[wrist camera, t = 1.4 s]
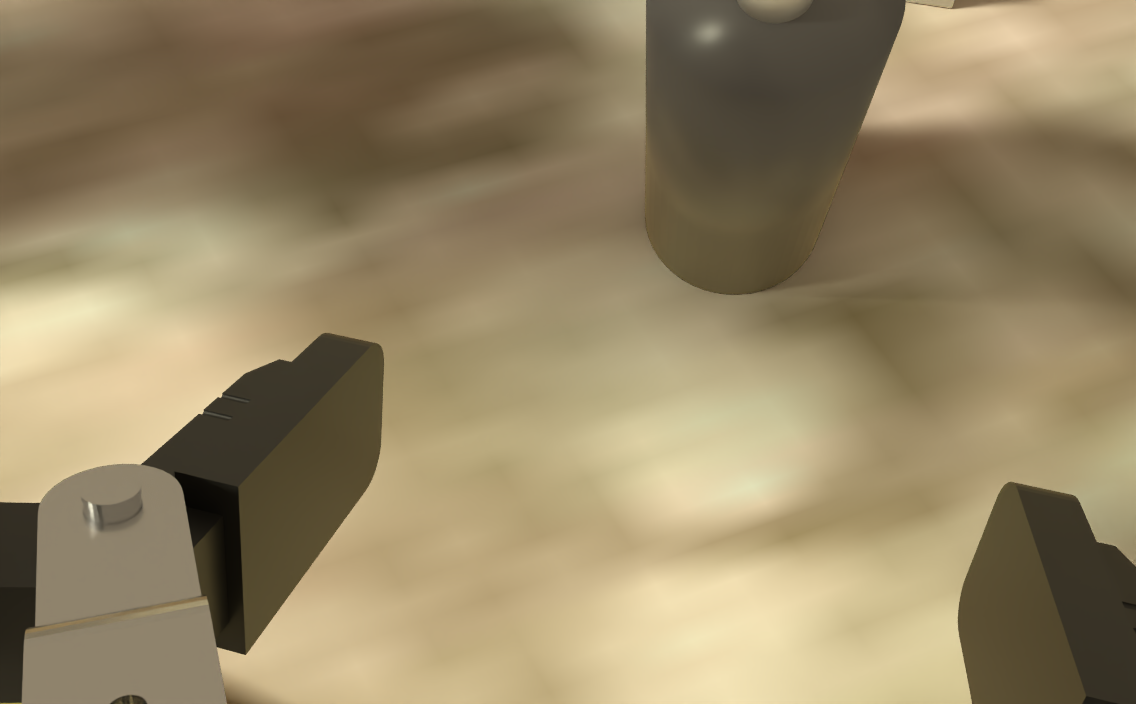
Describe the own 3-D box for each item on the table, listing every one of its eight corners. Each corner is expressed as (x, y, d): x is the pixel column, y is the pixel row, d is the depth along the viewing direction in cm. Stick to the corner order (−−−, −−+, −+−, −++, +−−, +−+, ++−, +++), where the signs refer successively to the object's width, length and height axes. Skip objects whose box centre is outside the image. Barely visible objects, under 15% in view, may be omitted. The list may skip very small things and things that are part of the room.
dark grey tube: (628, 275, 29) (620, 46, 19) (665, 124, 30) (676, -165, 20) (804, 310, 28) (899, 91, 18) (833, 154, 30) (935, -132, 19)
